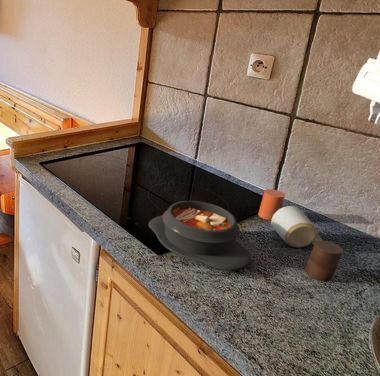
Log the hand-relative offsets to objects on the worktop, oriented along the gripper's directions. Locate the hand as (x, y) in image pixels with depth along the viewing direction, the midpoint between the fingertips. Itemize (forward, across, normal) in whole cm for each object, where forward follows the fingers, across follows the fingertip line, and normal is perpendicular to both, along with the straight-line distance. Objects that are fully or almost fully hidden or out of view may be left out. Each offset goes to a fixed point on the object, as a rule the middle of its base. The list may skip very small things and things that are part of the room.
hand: (375, 123), depth 91 cm
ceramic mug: (+29, +6, -11) cm, 32 cm away
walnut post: (+29, +20, -12) cm, 37 cm away
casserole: (+30, +12, -36) cm, 48 cm away
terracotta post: (+29, -6, -13) cm, 32 cm away
